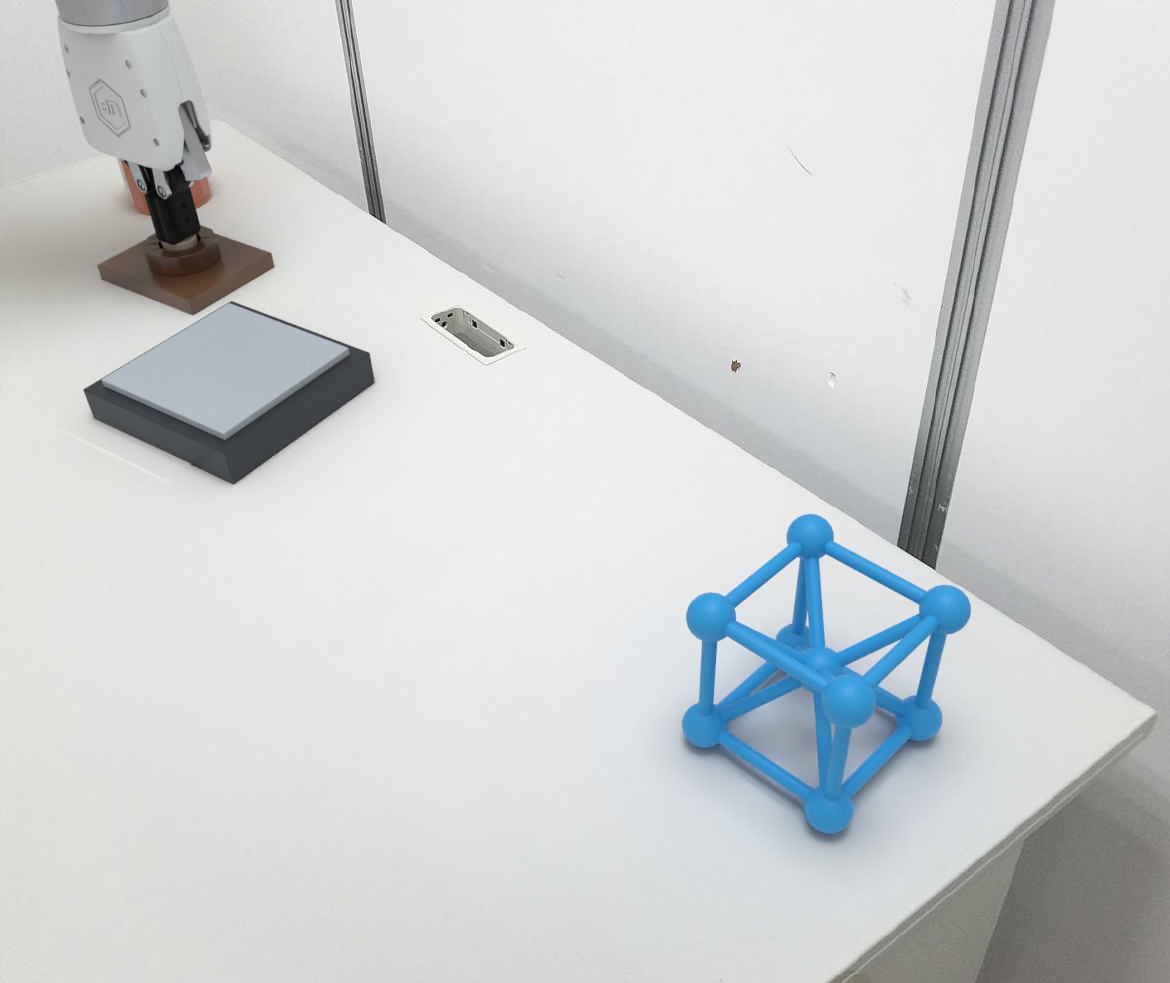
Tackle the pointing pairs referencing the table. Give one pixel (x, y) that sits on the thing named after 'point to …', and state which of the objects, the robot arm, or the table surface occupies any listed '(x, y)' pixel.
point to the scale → (230, 389)
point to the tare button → (181, 244)
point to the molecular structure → (822, 670)
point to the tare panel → (187, 270)
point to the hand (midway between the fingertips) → (180, 235)
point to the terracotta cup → (199, 192)
